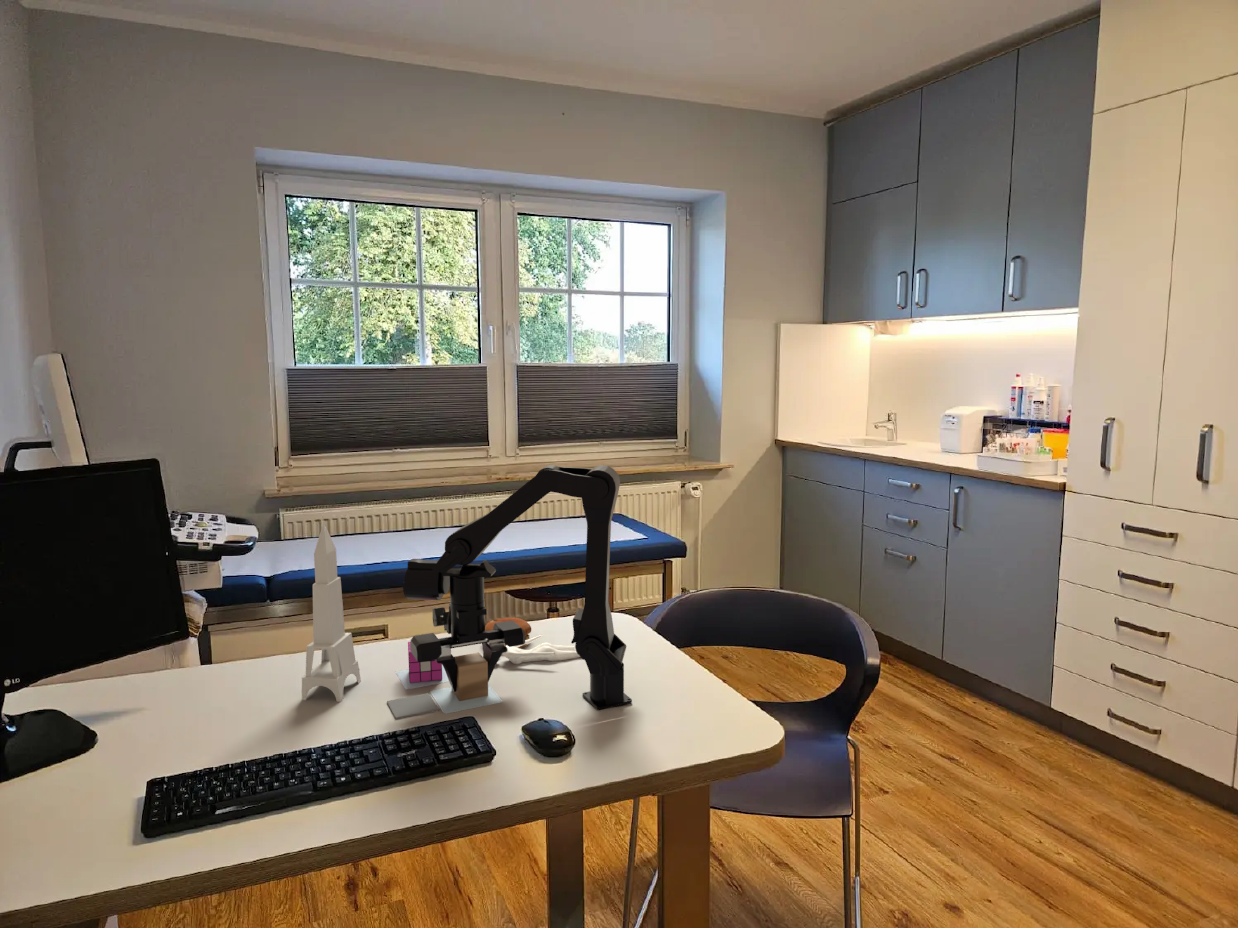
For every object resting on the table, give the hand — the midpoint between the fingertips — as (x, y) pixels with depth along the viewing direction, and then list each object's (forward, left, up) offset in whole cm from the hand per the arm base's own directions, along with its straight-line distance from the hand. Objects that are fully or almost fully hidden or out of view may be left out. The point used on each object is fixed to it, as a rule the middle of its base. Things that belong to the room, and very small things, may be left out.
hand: (469, 687), depth 140 cm
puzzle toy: (+11, +5, -1) cm, 12 cm away
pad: (-1, +10, -1) cm, 10 cm away
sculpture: (+12, +21, -1) cm, 24 cm away
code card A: (-1, +1, -1) cm, 2 cm away
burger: (+21, -14, -1) cm, 25 cm away
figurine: (+9, -20, -2) cm, 22 cm away
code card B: (+11, +5, -1) cm, 12 cm away
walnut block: (0, 0, -1) cm, 1 cm away
